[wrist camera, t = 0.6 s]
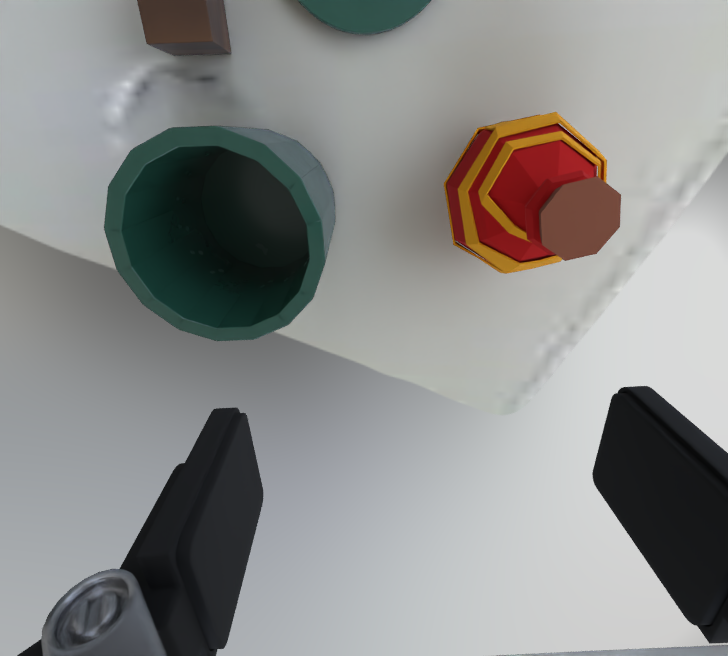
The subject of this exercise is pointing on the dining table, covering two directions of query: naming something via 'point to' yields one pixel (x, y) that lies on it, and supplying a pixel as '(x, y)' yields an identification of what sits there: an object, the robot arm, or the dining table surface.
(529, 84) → the dining table surface
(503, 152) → the potion bottle
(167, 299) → the green tube
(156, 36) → the block
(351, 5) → the green disc with handle
